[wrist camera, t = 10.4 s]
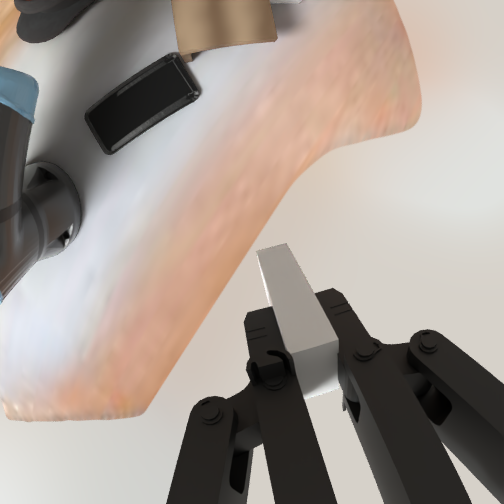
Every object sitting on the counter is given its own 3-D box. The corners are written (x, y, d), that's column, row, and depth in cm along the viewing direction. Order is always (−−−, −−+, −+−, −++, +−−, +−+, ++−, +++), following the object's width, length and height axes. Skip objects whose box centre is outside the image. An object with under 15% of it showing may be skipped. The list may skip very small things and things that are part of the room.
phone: (201, 96, 32) (107, 158, 33) (202, 97, 33) (110, 157, 34) (173, 50, 28) (81, 113, 30) (174, 52, 29) (84, 113, 31)
